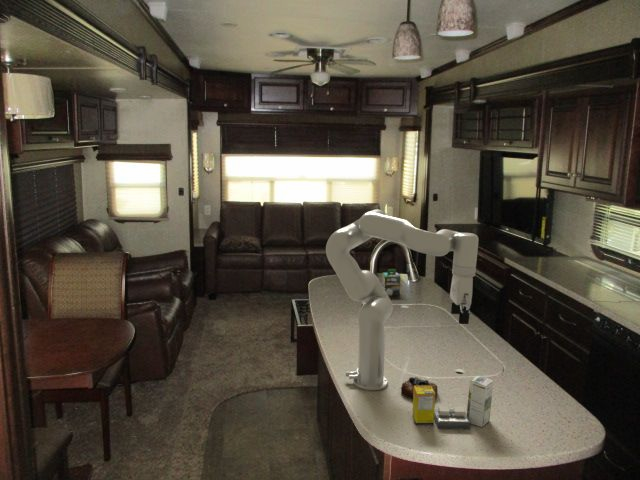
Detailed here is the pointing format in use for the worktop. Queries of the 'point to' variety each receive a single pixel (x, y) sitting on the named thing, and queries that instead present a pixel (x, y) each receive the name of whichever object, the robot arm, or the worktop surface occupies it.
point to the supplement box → (423, 405)
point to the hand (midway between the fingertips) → (459, 318)
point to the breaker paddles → (445, 411)
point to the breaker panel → (451, 421)
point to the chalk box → (391, 282)
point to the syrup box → (479, 400)
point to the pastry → (409, 385)
